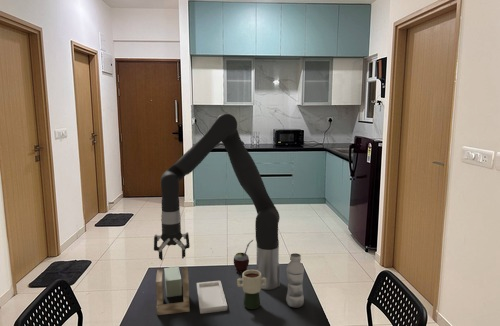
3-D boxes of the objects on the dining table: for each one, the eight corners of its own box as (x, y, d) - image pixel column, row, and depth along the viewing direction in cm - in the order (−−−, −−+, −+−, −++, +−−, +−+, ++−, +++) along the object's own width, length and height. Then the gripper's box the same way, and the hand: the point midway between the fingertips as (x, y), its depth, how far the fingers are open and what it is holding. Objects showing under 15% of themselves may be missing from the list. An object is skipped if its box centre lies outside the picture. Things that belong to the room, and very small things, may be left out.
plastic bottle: (303, 311, 132) (304, 259, 129) (285, 309, 133) (285, 258, 130) (304, 301, 138) (305, 252, 135) (286, 300, 139) (287, 251, 136)
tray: (220, 284, 152) (220, 280, 151) (227, 310, 132) (227, 305, 132) (196, 287, 150) (196, 282, 149) (200, 313, 130) (200, 308, 130)
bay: (188, 295, 143) (187, 267, 141) (189, 311, 132) (188, 280, 130) (158, 298, 141) (157, 269, 139) (157, 315, 130) (155, 284, 128)
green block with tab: (177, 276, 160) (177, 261, 159) (181, 295, 144) (181, 279, 143) (164, 278, 158) (163, 263, 157) (166, 297, 142) (165, 281, 141)
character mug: (265, 300, 139) (265, 269, 137) (267, 310, 132) (267, 277, 130) (237, 301, 138) (237, 269, 137) (237, 311, 131) (237, 278, 130)
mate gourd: (230, 271, 164) (230, 240, 162) (242, 266, 170) (241, 235, 168) (242, 276, 159) (242, 244, 157) (254, 270, 165) (254, 239, 163)
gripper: (188, 217, 150) (189, 253, 153) (153, 219, 147) (154, 256, 150) (189, 222, 143) (190, 261, 145) (152, 224, 140) (153, 264, 142)
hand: (172, 258), depth 147 cm, fingers open, 8 cm apart
